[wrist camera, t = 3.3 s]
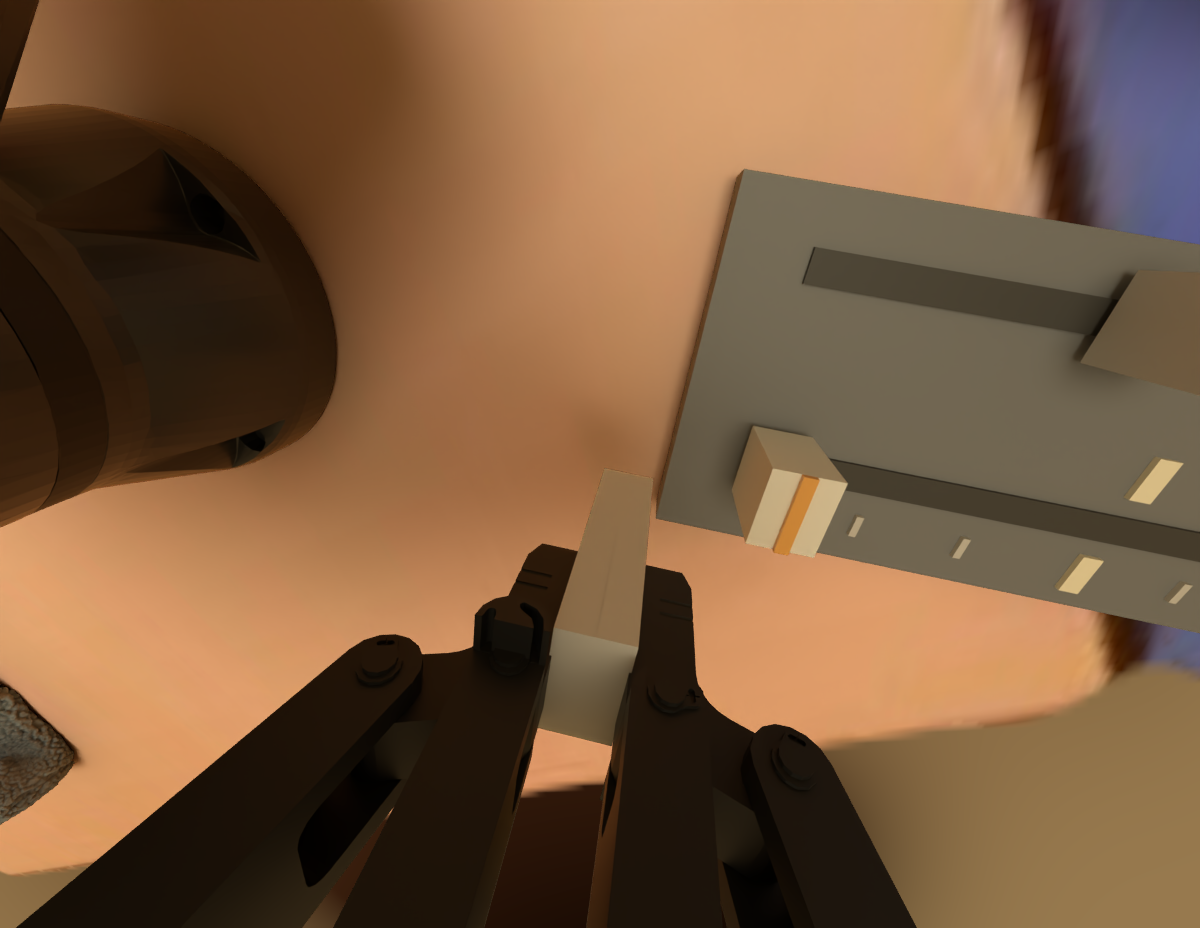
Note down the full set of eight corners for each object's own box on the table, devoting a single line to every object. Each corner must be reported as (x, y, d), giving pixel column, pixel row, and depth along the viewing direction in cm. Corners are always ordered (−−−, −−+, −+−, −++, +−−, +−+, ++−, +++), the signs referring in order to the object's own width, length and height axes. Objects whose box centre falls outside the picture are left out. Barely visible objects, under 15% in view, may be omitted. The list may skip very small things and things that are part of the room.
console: (656, 499, 23) (655, 521, 21) (737, 176, 17) (745, 167, 15) (1198, 612, 22) (1248, 646, 20) (1503, 305, 15) (1615, 312, 14)
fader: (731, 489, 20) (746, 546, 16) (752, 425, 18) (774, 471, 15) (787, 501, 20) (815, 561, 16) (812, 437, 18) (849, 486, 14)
